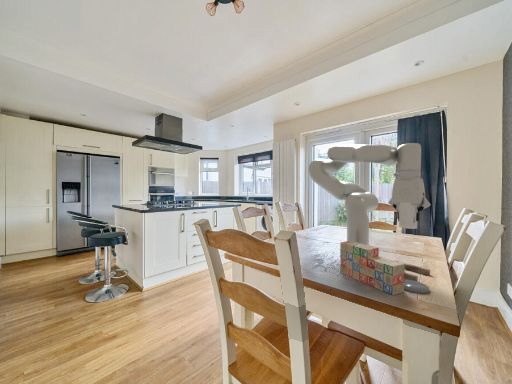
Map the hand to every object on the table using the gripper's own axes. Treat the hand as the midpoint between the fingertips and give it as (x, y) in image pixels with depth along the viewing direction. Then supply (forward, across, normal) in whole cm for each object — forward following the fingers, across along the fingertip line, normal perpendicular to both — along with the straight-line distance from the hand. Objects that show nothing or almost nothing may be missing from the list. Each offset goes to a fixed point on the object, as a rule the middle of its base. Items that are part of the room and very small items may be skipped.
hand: (407, 221), depth 84 cm
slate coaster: (+21, +6, -12) cm, 25 cm away
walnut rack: (+21, -1, 0) cm, 21 cm away
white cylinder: (+3, 0, 0) cm, 3 cm away
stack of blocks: (+21, -4, -19) cm, 29 cm away
